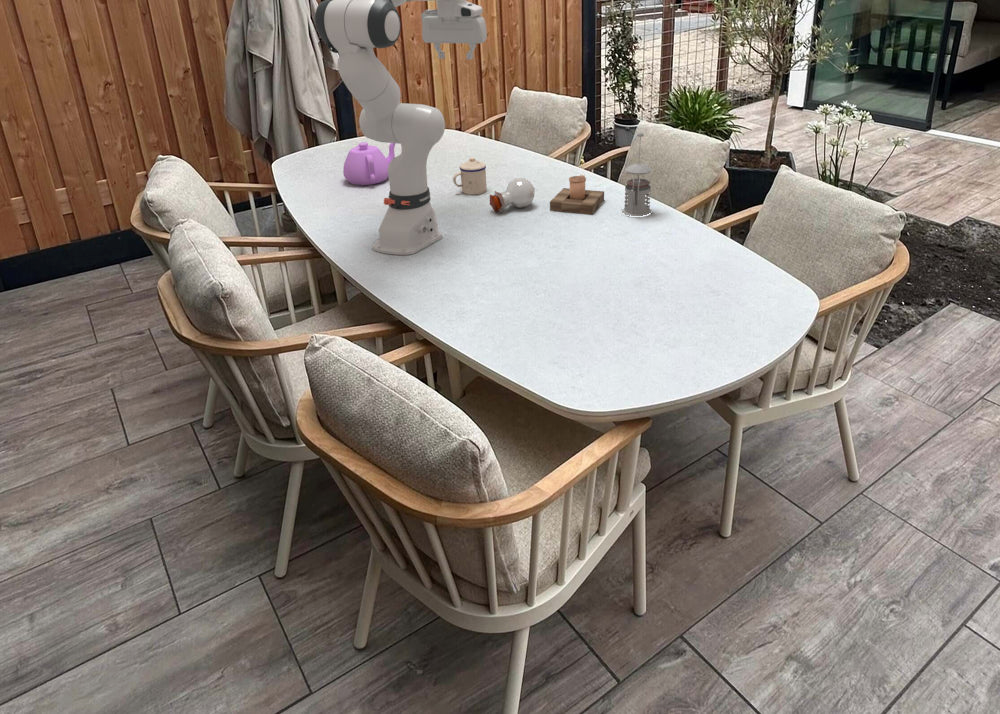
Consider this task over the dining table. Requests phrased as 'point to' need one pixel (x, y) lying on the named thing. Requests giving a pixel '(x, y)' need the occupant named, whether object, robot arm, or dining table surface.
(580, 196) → the copper mug
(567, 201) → the holder
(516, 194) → the potion bottle
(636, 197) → the french press
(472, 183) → the teacup with lid
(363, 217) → the dining table surface
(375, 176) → the teapot
